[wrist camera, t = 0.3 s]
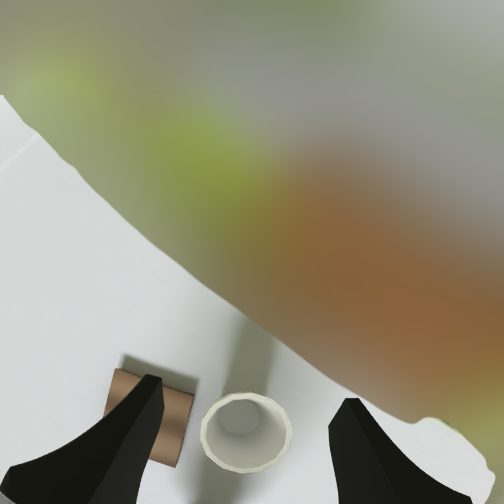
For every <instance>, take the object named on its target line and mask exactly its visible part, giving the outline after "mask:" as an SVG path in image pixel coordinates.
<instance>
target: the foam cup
mask: <svg viewBox="0 0 504 504" xmlns="http://www.w3.org/2000/svg"><path fill="white" fill-rule="evenodd" d="M291 436H292V426H291V423H290V421H289V418H288V415H287V413H286V411H285V410H284V409H283V408H281V407H280V406H279V405H278V404H277V403H276V402H275V401H274V400H272V399H271V398H269V397H267V396H264V395H260V394H257V393H254V392H251V391H246V392H235V393H229V394H228V395H226V396H224V397H222V398H220V399H218V400H217V401H215V402H213V404H212V405H211V407H210V408H209V409H208V411H207V412H206V414H205V415H204V416H203V418H202V422H201V430H200V441H201V443H202V446H203V448H204V450H205V453H206V455H207V456H208V457H209V458H210V459H211V460H213V461H214V462H215V463H216V464H217V465H219V466H220V467H221V468H223V469H227V470H230V471H234V472H237V473H241V474H242V473H251V472H259V471H263V470H265V469H267V468H268V467H270V466H272V465H274V464H275V463H277V462H279V461H280V459H281V458H282V457H283V455H284V454H285V453H286V451H287V450H288V448H289V447H290V443H291Z"/></svg>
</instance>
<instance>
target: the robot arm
mask: <svg viewBox="0 0 504 504" xmlns="http://www.w3.org/2000/svg"><path fill="white" fill-rule="evenodd" d="M164 409H165V405H164V396H163V386H162V378H161V377H157V376H153V375H149V374H146V375H144V376H143V378H142V379H141V380H140V381H139V382H138V383H137V385H136V386H135V387H134V388H133V389H132V390H131V391H130V392H129V393H128V394H127V395H126V396H125V398H124V399H123V400H122V401H121V402H120V403H118V404H117V405H116V406H115V407H114V408H113V409H112V410H111V411H110V412H109V413H108V414H107V415H106V416H105V417H103V418H102V419H101V420H100V421H99V422H98V423H96V424H95V425H94V426H93V427H91V428H90V429H89V430H87V431H86V432H85V433H83V434H82V435H80V436H79V437H77V438H76V439H74V440H73V441H71V442H69V443H68V444H66V445H64V446H63V447H61V448H59V449H57V450H55V451H53V452H51V453H48V454H46V455H44V456H42V457H39V458H37V459H34V460H31V461H28V462H25V463H22V464H18V465H15V466H11V467H10V468H9V470H8V471H7V472H6V474H5V476H4V479H3V481H2V483H1V485H0V492H1V493H0V504H136V501H137V496H138V491H139V487H140V482H141V478H142V475H143V472H144V469H145V466H146V464H147V461H148V458H149V456H150V453H151V450H152V448H153V445H154V443H155V440H156V437H157V435H158V432H159V429H160V426H161V422H162V418H163V413H164ZM328 429H329V446H330V452H331V457H332V462H333V467H334V472H335V477H336V483H337V488H338V497H339V504H473V503H472V500H471V498H470V497H469V496H466V495H464V494H462V493H459V492H457V491H454V490H452V489H450V488H449V487H447V486H445V485H443V484H441V483H440V482H438V481H436V480H435V479H433V478H432V477H431V476H429V475H428V474H426V473H425V472H424V471H422V470H421V469H420V468H419V467H418V466H416V465H415V464H414V463H413V462H412V461H411V460H410V459H409V458H408V457H407V456H406V455H405V454H404V453H403V452H402V451H401V450H400V449H399V448H398V447H397V446H396V445H395V444H394V443H393V441H392V440H391V439H390V438H389V437H388V436H387V434H386V433H385V432H384V431H383V429H382V428H381V427H380V426H379V424H378V423H377V422H376V420H375V419H374V418H373V416H372V415H371V414H370V412H369V411H368V410H367V408H366V407H365V406H364V404H363V403H362V402H361V401H360V399H359V398H345V400H344V401H343V403H342V405H341V406H340V408H339V410H338V411H337V413H336V414H335V416H334V418H333V419H332V421H331V422H330V424H329V425H328Z"/></svg>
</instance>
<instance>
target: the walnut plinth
mask: <svg viewBox="0 0 504 504" xmlns="http://www.w3.org/2000/svg"><path fill="white" fill-rule="evenodd" d="M141 379H142V377H140V376H137V375H135V374H132V373H130V372H127V371H125V370H122V369H117V368H115V371H114V375H113V379H112V382H111V386H110V390H109V394H108V398H107V403H106V407H105V411H104V416H103V417H105V416H106V415H107V414H108V413H109V412H110V411H111V410H112V409H113V408H114V407H115V406H116V405H117V404H118V403H120V402H121V401H122V400H123V399H124V398H125V396H126V395H127V394H128V393H129V392H130V391H131V390H132V389H133V388H134V387H135V386H136V385H137V383H138V382H139V381H140V380H141ZM162 386H163V396H164V405H165V409H164V413H163V418H162V422H161V426H160V429H159V432H158V435H157V437H156V440H155V443H154V445H153V448H152V450H151V453H150V456H149V458H148V459H150V460H153V461H156V462H159V463H162V464H165V465H168V466H171V467H174V468H175V467H176V465H177V463H178V459H179V455H180V451H181V447H182V443H183V439H184V435H185V431H186V427H187V423H188V419H189V415H190V411H191V407H192V404H193V400H194V396H195V395H193V394H190V393H186V392H183V391H180V390H177V389H174V388H171V387H168V386H165V385H162Z"/></svg>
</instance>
